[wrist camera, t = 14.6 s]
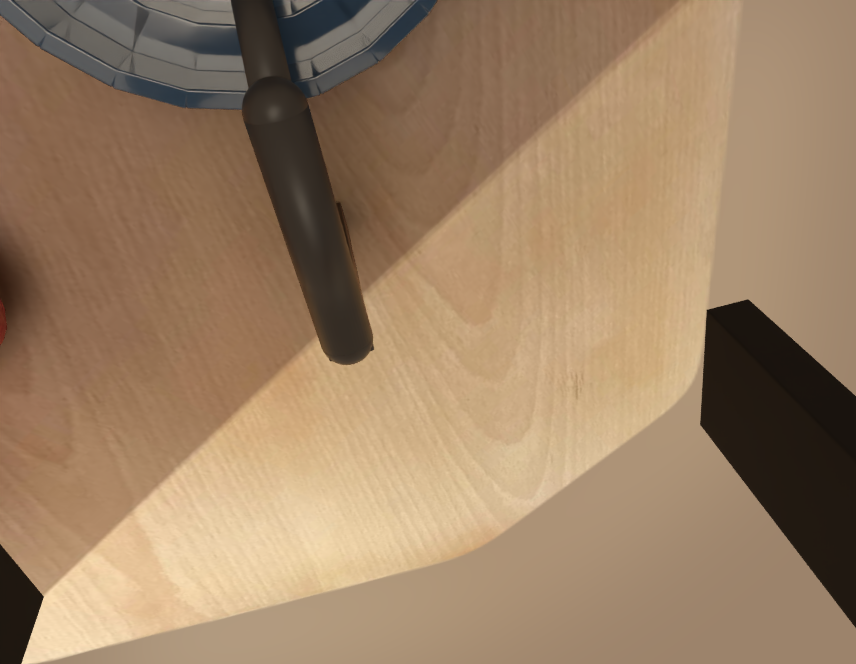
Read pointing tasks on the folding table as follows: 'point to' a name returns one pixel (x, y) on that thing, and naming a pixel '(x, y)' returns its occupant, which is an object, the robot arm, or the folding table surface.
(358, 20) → the bowl
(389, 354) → the folding table surface
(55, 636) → the folding table surface
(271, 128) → the ladle
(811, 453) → the robot arm
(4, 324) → the fruit
